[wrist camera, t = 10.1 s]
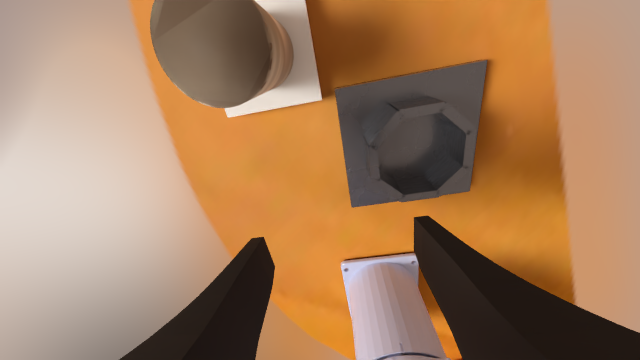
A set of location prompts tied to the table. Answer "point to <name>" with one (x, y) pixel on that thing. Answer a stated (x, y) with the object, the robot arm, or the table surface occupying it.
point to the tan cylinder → (220, 49)
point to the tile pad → (303, 80)
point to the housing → (411, 133)
